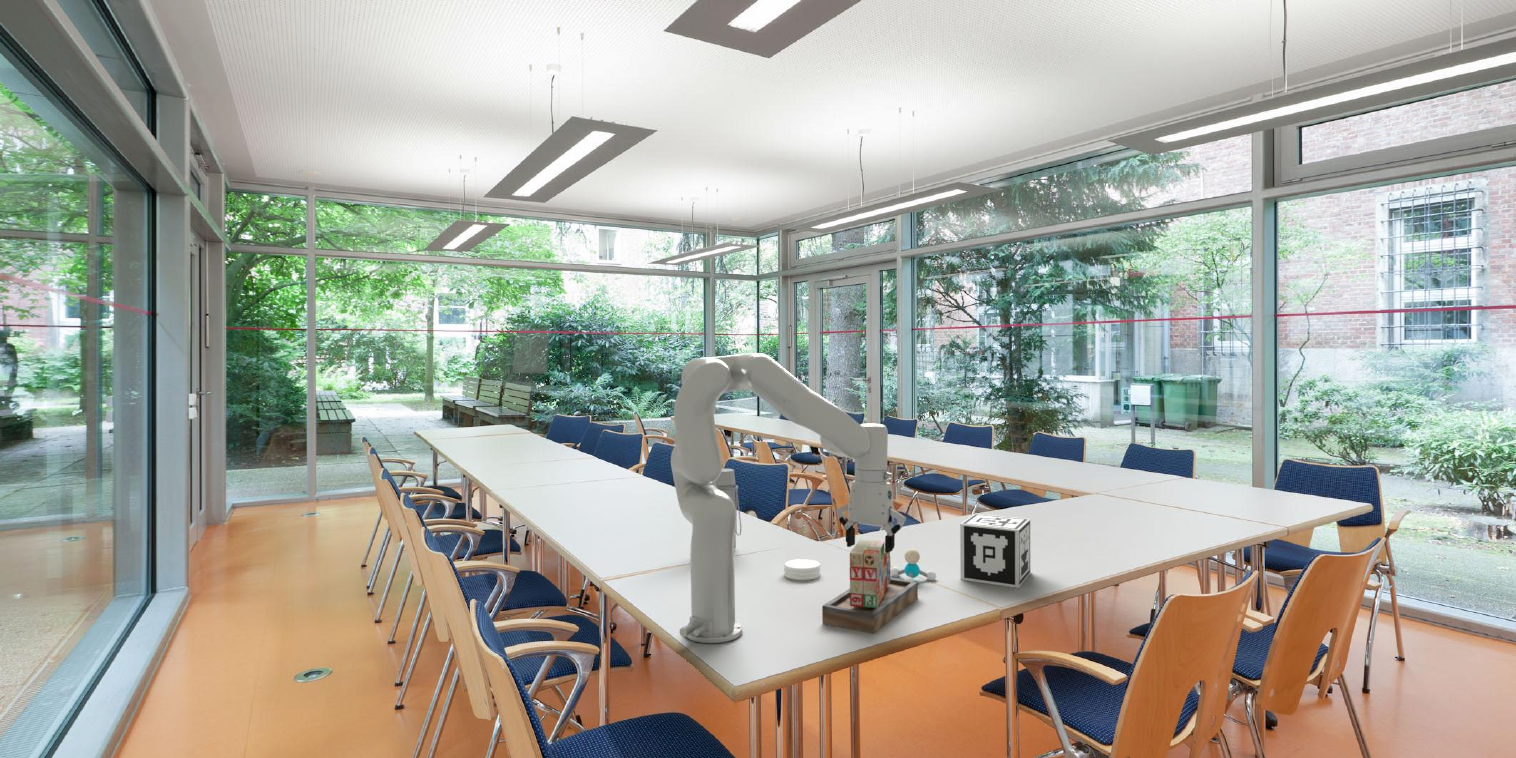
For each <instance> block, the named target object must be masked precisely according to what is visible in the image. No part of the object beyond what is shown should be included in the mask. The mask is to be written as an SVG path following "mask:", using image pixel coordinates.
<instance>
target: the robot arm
mask: <svg viewBox="0 0 1516 758" xmlns="http://www.w3.org/2000/svg"><path fill="white" fill-rule="evenodd" d="M681 382H682V385H681V386H680V389H679V391H678V393H677V396H676V398H675V402H674V406H673V407H674V408H673V421H674V425H675V426H674V427H675V432H676V441H677V443H676V444H675V446H674V447H673V448H672V451H671V455H670V466H671V473H672V477H673V483H674V489H675V492H676V497H677V501H678V505H679V506H678V507H679V509H680V512H681V514H682V516H683V518H684V519H686V521H688V522H689V523H690V524H691V525H692V531H691V538H690V539H691V540H690V553H689V554H690V555H689V556H690V596H691V597H690V600H691V601H690V603H691V604H690V605H691V613H690V614H691V616H689V622H688V624H687V625H684V626H683V627H680V629H679V632H678V633H679V635H680V636H681V637H682V638H685V637H686V638H687V639H689V640H691V641H693V642H696V643H697V642H698V643H703V644H718V643H719V644H720V643H727V642H730V641H733V640H736V639H737V638H740V636H741V635H742V634H743V625H742V624H741V623H740V622H738V621H736V598H735V597H736V595H735V593H736V591H735V590H736V586H735V585H736V583H735V576H736V575H735V572H736V571H735V570H736V569H735V550H734V539H735V530H736V522H737V521H738V518H737V516H738V515H737V514H738V512H737V513H736V504H735V505H734V503H733V501H732V499H731V498H730V497H729V496H728V495H727V494H726V493H724V492H723V491H721V490H719V489H717V486H716V480H717V479H718V478H719V476H720V474H721V472H722V469H723V458H722V452H721V450H720V443H719V439H718V434H717V429H716V424H715V408H716V405H717V403H718V401H719V399H720V397H721V396H722V395H723V394H724V393H730V392H731V393H732V392H738V391H745V390H748V391H751V392H753V394H755V395H756V396H757V397H759V399H762V400H763V401H764V402H765V403H766V404H767V405H769V406H770V407H772V408H773V409H774V410H775V411H777V413H779V414H780V415H781V416H783V417H784V418H785V419H787V420H788V421H791V422H792V423H794V424H796V425H798V426H802V427H803V428H805V429H808V430H810V431H812V432H814V433H815V434H818V435H819V439H820V440H819V441H820V444H821V446H822V448H823V449H824V450H825V451H826V452H827V453H830V454H831V455H836V456H838V457H843V458H847V459H852V460H854V480H852V482H851V486H850V490H849V495H848V504H846V505H843V506H842V507H839V508H836V509H835V513H836V515H837V518H838V519H839V522H840V523H841V525H842V526H843V529H844V530H845V542H846V547H848V548H850V547H853V546H856V529H855V525H856V524H859V525H864V526H865V525H867V526H872V527H873V526H874V527H879V528H880V527H881V528H883V530H884V531H885V532H886V533H885V534H886V535H885V537H884V544H885V552H886V553H889V552H890V553H891V552H892V551H893V549H895V545H896V543H895V541H896V540H895V538H896V534H897V533H898V532H899V531H900V530H901V529H902V528H903V525H904V524H905V522H906V520H907V518H906V516H905V515H903V514H901V513H900V512H899V511H897V510H896V509H894V508H895V506H894V498H893V497H894V496H893V490H892V485H891V482H888V480H892V479H893V477H894V476H893V475H894V474H893V473H892V472H889V469H888V446H889V445H888V441H889V439H888V438H889V437H888V435H889V434H888V433H889V431H888V428H887V426H886V425H885V424H882V423H871V422H870V423H861V424H860V423H859V422H857V421H856V420H855V419H854V418H853V417H851V416H850V415H849V414H847V412H845V411H844V410H843V409H841V408H840V407H838V406H837V405H835V404H833V403H832V402H831V401H829V400H827V399H826V398H824V397H823V396H822V395H820V394H818V393H817V392H815V391H813V390H812V389H811V388H809V387H808V386H807V385H805V384H804V383H803V382H802V381H801V380H799V379H798V378H796V377H795V376H794V375H793V374H792V373H790V372H789V371H788V370H786V368H785V367H784V366H782V365H781V364H780V363H778V362H777V361H776V360H775V359H773V358H772V357H771V356H769V355H768V354H765V353H761V352H746V353H740V354H733V355H731V354H730V355H721V356H712V357H700V358H699V357H698V358H694V359H692V360H690V361H689V362H687V363H686V364H685V365H684V367H683V368H682V371H681ZM846 511H847V517H846V516H845V512H846ZM895 519H896V524H895V525H894V524H893V523H894V520H895Z"/></svg>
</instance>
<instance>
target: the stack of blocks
mask: <svg viewBox="0 0 1516 758" xmlns="http://www.w3.org/2000/svg"><path fill="white" fill-rule="evenodd" d="M891 568H892V567H891V552H889V553H886V552H885V540H872V539H869V540H868V539H859V540H858V541H857V543H855V545H854V547H853V548H852V549H851V550H850V552H849V589H850V606H856V607H868V608H877V607H878V605H879V604H880V602H881V600H882V598H883V596H884V593H885V590H886V588H887V587H888V585H889V583H890V581H891V578H892V575H891V573H890V570H891Z"/></svg>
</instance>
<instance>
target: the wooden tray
mask: <svg viewBox="0 0 1516 758" xmlns="http://www.w3.org/2000/svg"><path fill="white" fill-rule="evenodd" d="M918 583H919V582H918V581H914V582H913V581H907V580H904V579H900V578H895V577H894V578H892V577H891V581H890V583H889V585H888V587H887V588H886V590H885V593H884V596H883V598H882V600H881V602H880V604H879V605H878V607H877V608H868V607H856V606H850V588H848V589H847V590H845V591H844V592H842V593H840V594H839V595H837V596H835V597H834V598H833V599H830V600H829V601H828V602H826V603H825V604H823V605H822V606H821V608H822V609H821V612H822V619H821V620H822V624H823V625H830V626H834V627H840V628H844V629H850V630H854V631H860V632H864V633H870V634H875V633H876V632H877V631H879V630H880V629H882V628H883V627H884V626H885V625H886V624H887V623H889V622H890V621H891V620H893V619H894V617H896V616H897V615H899V614H900V613H901V612H902V611H904V609H906V608H907V607H909V606H910V605H911V604H912V603H914V602H915V601H916V600H917V599H918V597H919V594H918V593H919V592H918V588H919V586H918V585H919V584H918Z"/></svg>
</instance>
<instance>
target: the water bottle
mask: <svg viewBox="0 0 1516 758" xmlns="http://www.w3.org/2000/svg"><path fill="white" fill-rule="evenodd" d="M735 477H736V476H735V469H732V468H722V472H721V474H720V476H719V478H718V479H717V480H716V486H717V489H719V490H721V491H723V492H724V493H726V494H727V495H728V496H729V497H730V498H731V499H732V501H733V503H734V505H735V508H736V513H737V514H738V519H739V527H740V528H739V529H740V530H739V534H738V531H737V525H738V523H737V522H736V530H735V539H734V551H735V550H736V545H737V542H736V540H737V536H741V535H742V534H741V533H742V520H741V513H740V512H741V511H740V503H739V502H740V501H739V495H738V489H739V486H738V485H737V484H736V478H735ZM737 511H738V512H737Z"/></svg>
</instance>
